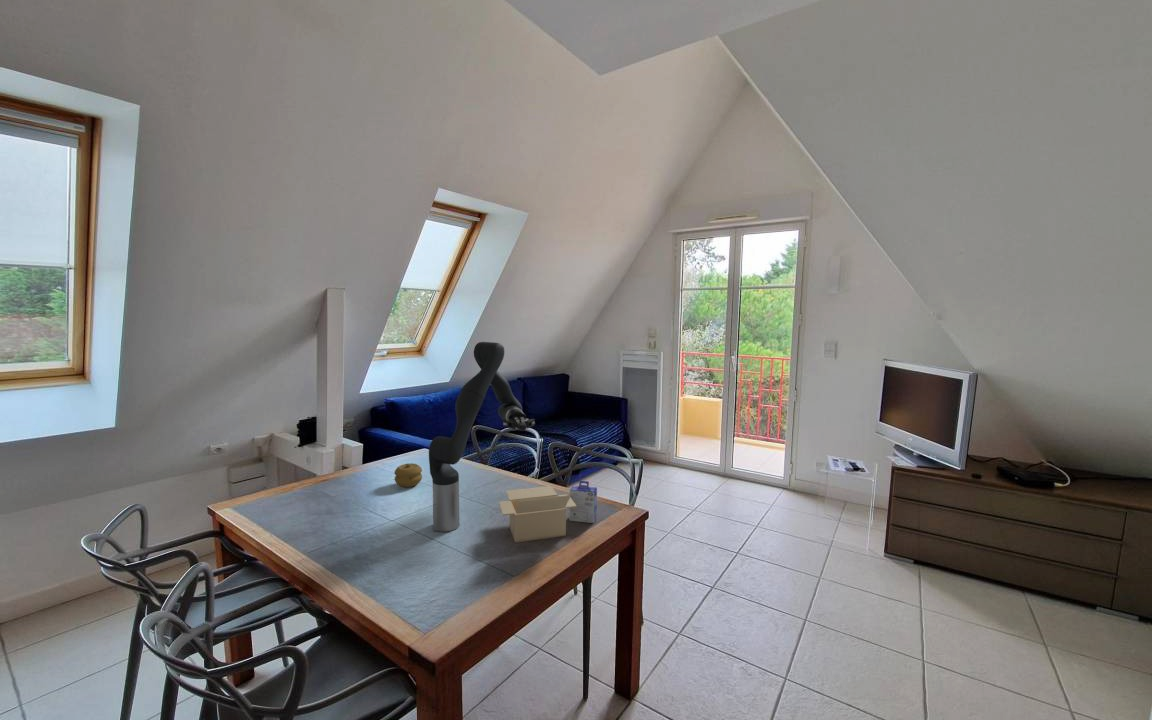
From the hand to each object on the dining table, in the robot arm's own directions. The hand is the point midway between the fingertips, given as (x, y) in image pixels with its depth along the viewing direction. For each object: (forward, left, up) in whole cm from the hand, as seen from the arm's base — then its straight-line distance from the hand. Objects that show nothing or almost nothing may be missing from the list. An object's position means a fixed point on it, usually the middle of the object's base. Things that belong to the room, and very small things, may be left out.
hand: (522, 428), depth 176 cm
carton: (+3, -7, -35) cm, 36 cm away
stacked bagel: (-43, +47, -35) cm, 73 cm away
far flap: (+3, -21, -21) cm, 30 cm away
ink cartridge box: (+22, -7, -35) cm, 42 cm away
